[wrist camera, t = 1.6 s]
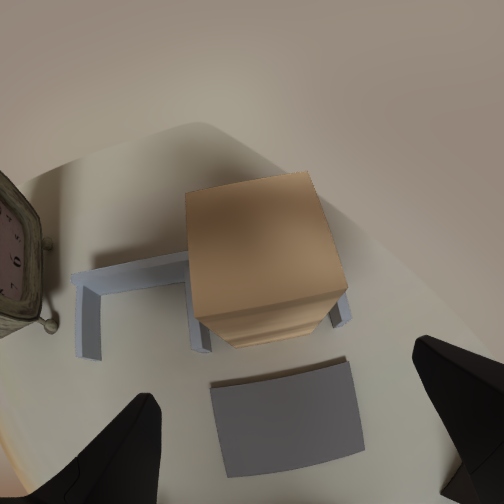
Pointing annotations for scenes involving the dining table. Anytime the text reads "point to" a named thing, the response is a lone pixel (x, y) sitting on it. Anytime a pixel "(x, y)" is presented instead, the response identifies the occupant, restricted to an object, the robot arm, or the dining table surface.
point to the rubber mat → (288, 421)
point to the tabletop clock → (20, 262)
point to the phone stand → (461, 488)
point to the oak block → (261, 259)
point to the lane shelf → (140, 277)
